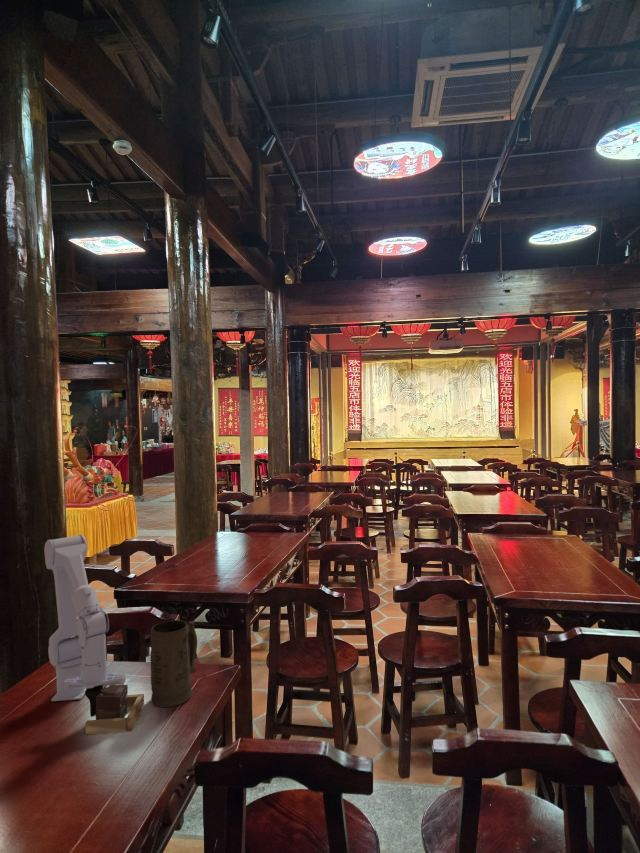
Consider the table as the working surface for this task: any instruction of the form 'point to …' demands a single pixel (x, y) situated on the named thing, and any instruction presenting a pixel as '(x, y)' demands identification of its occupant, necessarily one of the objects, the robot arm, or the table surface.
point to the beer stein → (172, 662)
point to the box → (112, 702)
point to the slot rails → (118, 723)
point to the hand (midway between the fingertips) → (96, 714)
